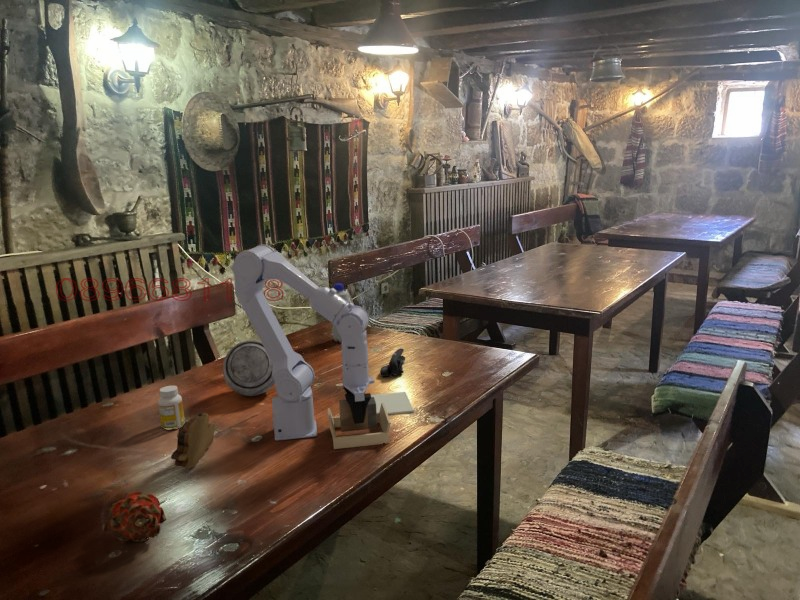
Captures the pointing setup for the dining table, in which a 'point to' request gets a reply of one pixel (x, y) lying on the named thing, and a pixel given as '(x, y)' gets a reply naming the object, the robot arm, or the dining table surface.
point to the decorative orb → (248, 368)
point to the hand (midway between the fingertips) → (358, 418)
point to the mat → (393, 403)
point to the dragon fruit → (136, 517)
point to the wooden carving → (193, 441)
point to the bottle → (344, 295)
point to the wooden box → (363, 438)
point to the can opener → (394, 364)
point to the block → (347, 417)
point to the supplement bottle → (170, 407)
